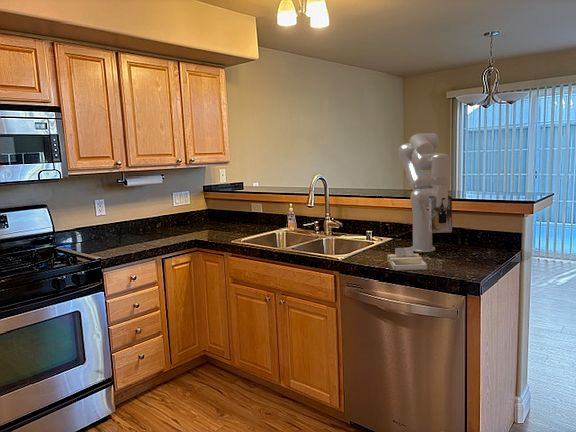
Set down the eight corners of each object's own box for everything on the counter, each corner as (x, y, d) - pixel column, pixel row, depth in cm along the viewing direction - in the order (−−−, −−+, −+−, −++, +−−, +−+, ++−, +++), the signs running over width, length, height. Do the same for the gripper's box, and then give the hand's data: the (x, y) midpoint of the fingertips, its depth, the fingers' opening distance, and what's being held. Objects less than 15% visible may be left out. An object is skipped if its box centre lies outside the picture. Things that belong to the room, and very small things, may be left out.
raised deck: (387, 260, 210) (387, 254, 209) (417, 259, 209) (417, 253, 209) (391, 266, 200) (391, 259, 200) (422, 264, 199) (422, 258, 199)
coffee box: (449, 229, 203) (449, 195, 201) (452, 232, 197) (452, 196, 195) (428, 230, 205) (428, 195, 202) (431, 233, 198) (431, 197, 196)
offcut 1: (395, 255, 207) (395, 248, 207) (402, 255, 207) (402, 247, 206) (396, 257, 204) (396, 249, 203) (404, 256, 203) (404, 249, 203)
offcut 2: (404, 255, 207) (403, 247, 206) (411, 254, 207) (411, 247, 206) (405, 256, 203) (405, 249, 203) (413, 256, 203) (413, 249, 203)
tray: (391, 266, 200) (391, 261, 200) (422, 264, 199) (422, 260, 199) (394, 270, 192) (394, 265, 192) (427, 269, 191) (427, 264, 191)
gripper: (426, 180, 206) (426, 218, 209) (437, 184, 189) (437, 225, 192) (443, 180, 206) (443, 218, 209) (455, 183, 189) (454, 224, 191)
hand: (440, 221), depth 200 cm, fingers closed on coffee box, 6 cm apart
